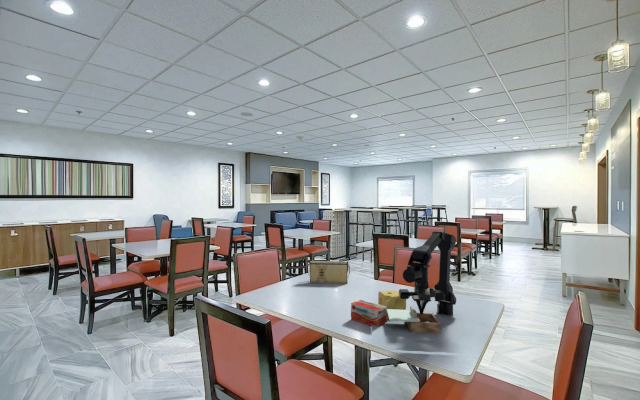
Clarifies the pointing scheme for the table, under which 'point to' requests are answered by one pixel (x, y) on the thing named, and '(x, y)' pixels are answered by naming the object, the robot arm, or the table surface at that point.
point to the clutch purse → (328, 271)
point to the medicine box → (368, 313)
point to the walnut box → (425, 324)
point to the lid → (403, 315)
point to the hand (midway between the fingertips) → (421, 313)
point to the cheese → (391, 300)
